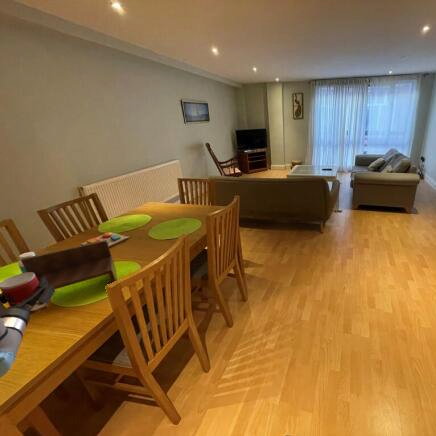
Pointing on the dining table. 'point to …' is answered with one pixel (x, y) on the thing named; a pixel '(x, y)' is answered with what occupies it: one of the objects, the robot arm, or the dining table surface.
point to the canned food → (19, 287)
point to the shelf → (72, 264)
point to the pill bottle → (24, 257)
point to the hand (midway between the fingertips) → (27, 284)
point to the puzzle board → (107, 239)
